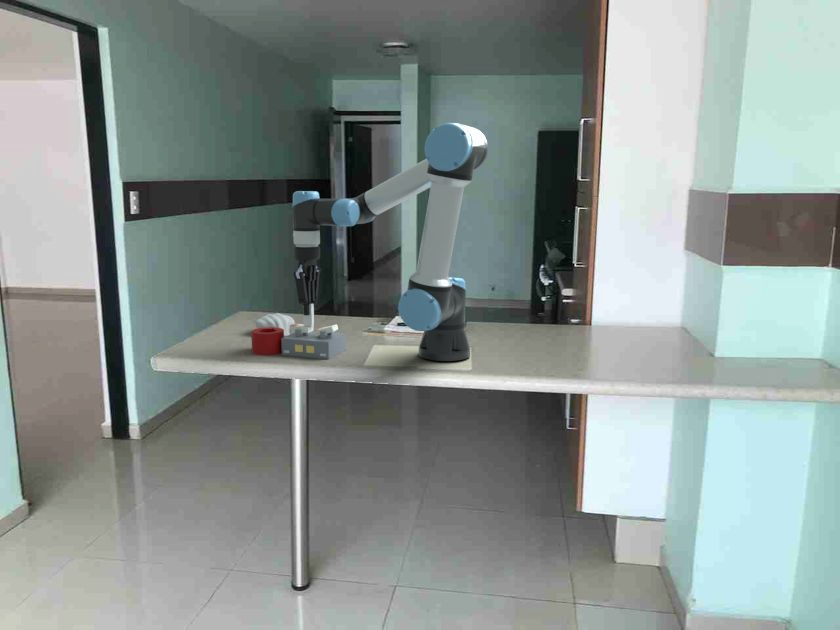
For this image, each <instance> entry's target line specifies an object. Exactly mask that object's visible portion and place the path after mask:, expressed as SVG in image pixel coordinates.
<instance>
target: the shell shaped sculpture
mask: <svg viewBox="0 0 840 630" xmlns="http://www.w3.org/2000/svg"><path fill="white" fill-rule="evenodd" d="M295 323H296V322H295V320H294V318H293V317H291V316H289V315H287V314H282V313H279V312H276V313H273V314H271V313H267V314H266V315H263V316H260V317H259V318H258V319H256V320H255V323H254V324H255V326H256V329H257V328H264V327H276V328H282V329H284V336H288V335H290V334H291V332H292V331H290V325H292V324H295Z"/></svg>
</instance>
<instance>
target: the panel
mask: <svg viewBox="0 0 840 630" xmlns="http://www.w3.org/2000/svg"><path fill="white" fill-rule="evenodd" d="M346 333H347V332H346ZM346 333H344V332H343V333H342V332H331V333H327V334H325V331H320V335H319V336H315V333H314V331H312V332H309V333H302V332H301V329H295V332H292V333H290V335H288V336H286V337H283V338H281V342H282V353H281V355H282V356H289V357H290V356H291V357H300V356H301V357H303V358H312V359H321V360H330V359H332V358H334V357H336V356H338V355H339V354H341V353H342V352H344V351H346V350H347V337H346V335H347V334H346Z"/></svg>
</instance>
